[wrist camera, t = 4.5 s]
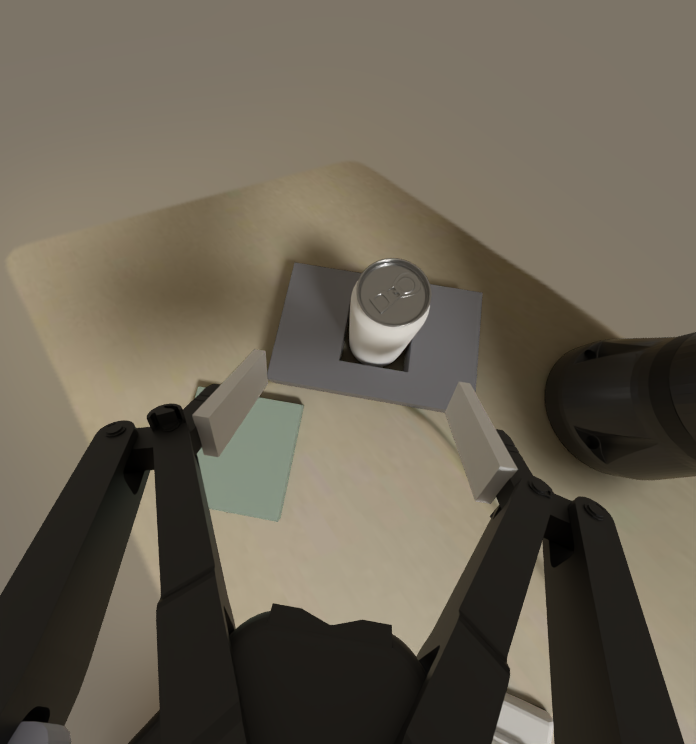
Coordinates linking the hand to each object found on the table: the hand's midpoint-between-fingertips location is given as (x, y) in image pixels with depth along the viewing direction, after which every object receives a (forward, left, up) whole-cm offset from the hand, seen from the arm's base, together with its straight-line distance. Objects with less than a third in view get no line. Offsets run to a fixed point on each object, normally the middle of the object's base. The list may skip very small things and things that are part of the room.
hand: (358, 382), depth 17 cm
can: (-2, -7, -12) cm, 14 cm away
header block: (-2, -7, -12) cm, 14 cm away
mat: (+11, +8, -12) cm, 18 cm away
